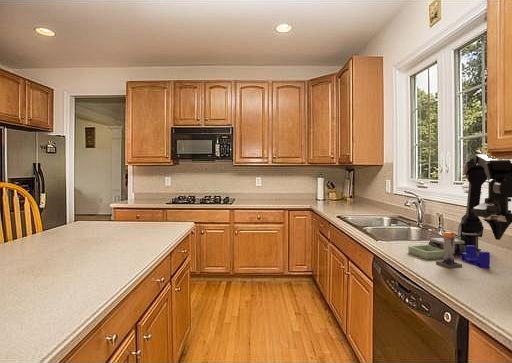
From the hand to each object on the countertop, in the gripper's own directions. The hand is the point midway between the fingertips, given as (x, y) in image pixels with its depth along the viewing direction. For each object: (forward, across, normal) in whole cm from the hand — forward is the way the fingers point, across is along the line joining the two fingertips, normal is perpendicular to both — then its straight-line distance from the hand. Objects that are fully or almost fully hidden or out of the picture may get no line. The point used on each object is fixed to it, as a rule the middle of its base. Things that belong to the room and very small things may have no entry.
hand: (497, 239), depth 118 cm
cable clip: (+12, -11, +1) cm, 16 cm away
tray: (+12, -26, -7) cm, 29 cm away
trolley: (+12, -27, +3) cm, 29 cm away
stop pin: (+12, -11, -10) cm, 19 cm away
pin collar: (+12, -11, -10) cm, 19 cm away
